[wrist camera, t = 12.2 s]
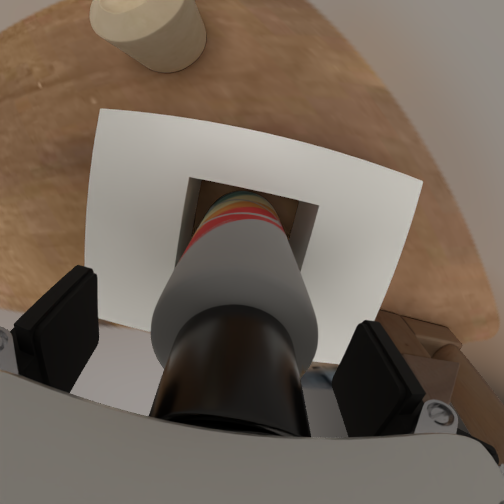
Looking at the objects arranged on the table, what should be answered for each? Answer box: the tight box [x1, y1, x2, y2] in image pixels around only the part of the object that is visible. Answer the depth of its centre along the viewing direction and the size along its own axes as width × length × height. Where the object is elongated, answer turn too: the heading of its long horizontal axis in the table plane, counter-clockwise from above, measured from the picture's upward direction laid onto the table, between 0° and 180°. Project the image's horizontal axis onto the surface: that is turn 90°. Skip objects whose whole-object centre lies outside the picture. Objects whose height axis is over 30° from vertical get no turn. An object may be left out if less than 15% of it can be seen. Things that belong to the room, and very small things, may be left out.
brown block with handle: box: [374, 310, 504, 466], centre depth 19 cm, size 4×11×18 cm, turn 72°
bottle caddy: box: [85, 109, 423, 364], centre depth 21 cm, size 20×14×6 cm
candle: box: [90, 0, 206, 73], centre depth 14 cm, size 6×6×10 cm
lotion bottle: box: [149, 191, 318, 437], centre depth 15 cm, size 6×6×20 cm
